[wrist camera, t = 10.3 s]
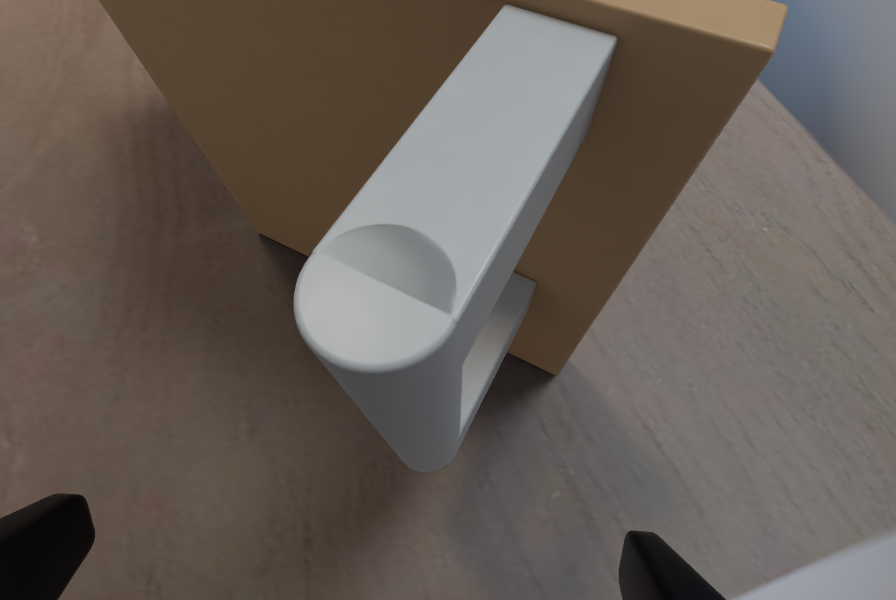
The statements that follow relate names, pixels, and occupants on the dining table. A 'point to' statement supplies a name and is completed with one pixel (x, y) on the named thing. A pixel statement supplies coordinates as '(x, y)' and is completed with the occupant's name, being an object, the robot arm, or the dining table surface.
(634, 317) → the dining table surface
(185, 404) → the dining table surface
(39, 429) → the dining table surface
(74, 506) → the robot arm
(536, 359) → the fridge door
